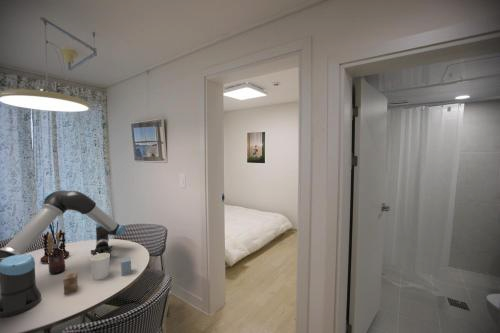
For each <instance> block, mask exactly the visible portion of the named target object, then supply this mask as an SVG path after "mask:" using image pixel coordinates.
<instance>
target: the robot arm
mask: <svg viewBox="0 0 500 333" xmlns="http://www.w3.org/2000/svg"><path fill="white" fill-rule="evenodd" d="M68 210H69V211H75V212H78V213H80V214H81V215H86V216H87V217H88V218H90V219H91V220H93V221H94V222H95V231H96V232H95V236H96V239H95V240H96V243H95V249H91V250H90V255H92V256H94V255H96V254H100V253H109V254H110V253H112V251H113V250H114V249H113V248H114V246H113V245H111V246H109V235H110V236H117V237H118V236H123V235H124V234H126V230H127V228H126V226H125V225H123V224H119V223H118V222H117V221H115V220H114V219H113V218H112V217H111V216H110V215H108V214H107V213H106V212H104V211H103V210H102V209H101V208H100V207H99V206H97V203H96V202H95V201H94V200H93V199H92V198H90V196H87V195H86V194H84V193H82V192H81V191H78V190H77V191H76V190H61V189H59V190H54V191H53V190H52V191H50V192H49V193H47V194H46V195H45V196H44V198H43V203H42V204H41V210H39V212H37V214H35V216H34V217H33V218H31V219H30V221H28V222H27V223H26V225H25V226H24V227H23V228H22V229H21V230H20V231H19V232H17V234H16V235H15V236H13V238H12V239H11V240H10V241H9V242H8V243H7V244H5V246H4V247H1V248H0V318H7V317H8V318H9V317H12V316H16V315H19V314H22V313H23V312H27V311H28V310H30V309H33V308H34V307H36V306H37V305H38V304H40V302H41V300H42V293H41V291H40V290H39V288H38V287H37V285H36V284H37V283H36V262H35V257H34V256H33V255H31V254H28V253H26V252H27V250H28V249H30V247H31V246H32V245H33V244H34V242H36V240H38V238H39V237H40V236H41V235H42V234H43V233H44V232H45V231H46V230H47V229H48V227H49V226H50V225H51V224H52V223H53V222H54V221H55V220H56V219H57V218H58V217H60V216H63V215H64V214H65V213H66V211H68ZM25 253H26V254H25Z"/></svg>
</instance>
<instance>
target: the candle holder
mask: <svg viewBox="0 0 500 333" xmlns="http://www.w3.org/2000/svg"><path fill="white" fill-rule="evenodd" d="M110 258H111V254H110V253H106V252H105V253H100V254H98V253H97V254H96V255H94V256H93V255H92V256H91V257H90V258H89V262H90V267H91V268H90V269H91V270H90V271H91V278H92V279H93V280H95V281H97V280H102V279H105V278H107V277H108V276H109V275H110V264H111V263H110V262H111V261H110V260H111V259H110Z"/></svg>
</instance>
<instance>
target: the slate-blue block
mask: <svg viewBox="0 0 500 333" xmlns="http://www.w3.org/2000/svg"><path fill="white" fill-rule="evenodd" d="M131 261H132V260H131V257H125V258H121V259H120V265H121V266H120V270H121V276H125V275H126V276H127V275H130V274H132V262H131Z"/></svg>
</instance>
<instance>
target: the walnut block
mask: <svg viewBox="0 0 500 333" xmlns="http://www.w3.org/2000/svg"><path fill="white" fill-rule="evenodd" d="M77 291H78V272H73V273H69V274H65V275H64V277H63V295H68V294H71V293H75V292H77Z"/></svg>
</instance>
